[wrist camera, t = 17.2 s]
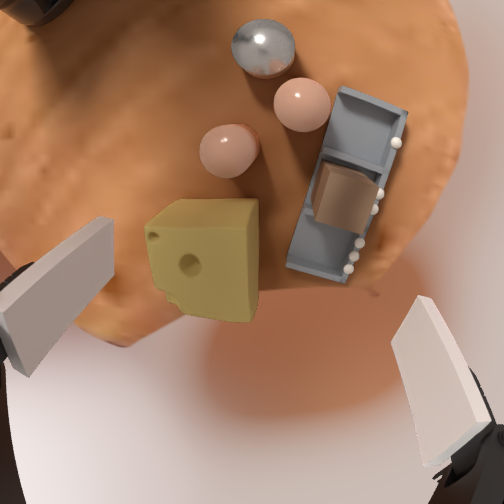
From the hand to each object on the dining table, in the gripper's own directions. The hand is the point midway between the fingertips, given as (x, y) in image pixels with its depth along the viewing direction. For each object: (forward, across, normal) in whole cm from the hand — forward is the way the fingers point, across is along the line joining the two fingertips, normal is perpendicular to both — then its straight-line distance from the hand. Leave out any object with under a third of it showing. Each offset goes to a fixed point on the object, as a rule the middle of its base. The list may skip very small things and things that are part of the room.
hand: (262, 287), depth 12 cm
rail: (+23, +7, 0) cm, 24 cm away
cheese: (+23, -5, -9) cm, 26 cm away
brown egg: (+23, -5, +2) cm, 24 cm away
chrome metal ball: (+24, -4, +13) cm, 27 cm away
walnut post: (+23, +6, 0) cm, 24 cm away
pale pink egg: (+23, 0, +8) cm, 24 cm away
